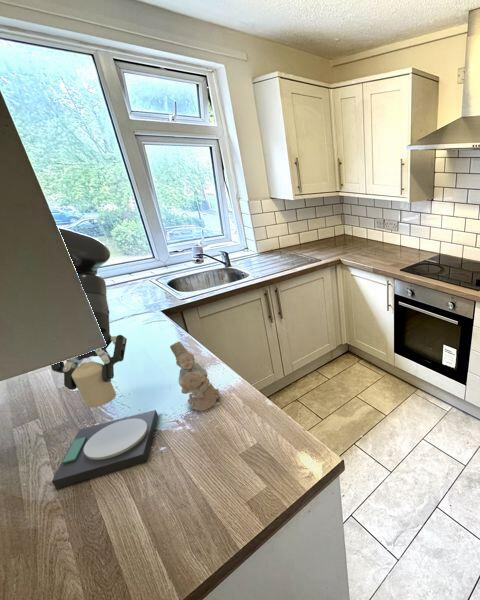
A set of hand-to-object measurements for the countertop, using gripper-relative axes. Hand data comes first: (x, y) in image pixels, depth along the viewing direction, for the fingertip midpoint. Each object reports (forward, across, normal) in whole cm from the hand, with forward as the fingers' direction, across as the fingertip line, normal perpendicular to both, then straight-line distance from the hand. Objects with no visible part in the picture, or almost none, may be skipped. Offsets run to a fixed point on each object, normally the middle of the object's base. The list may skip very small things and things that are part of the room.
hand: (90, 384), depth 74 cm
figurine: (+8, +19, +18) cm, 27 cm away
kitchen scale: (+14, 0, +12) cm, 18 cm away
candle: (+3, 0, +5) cm, 6 cm away
